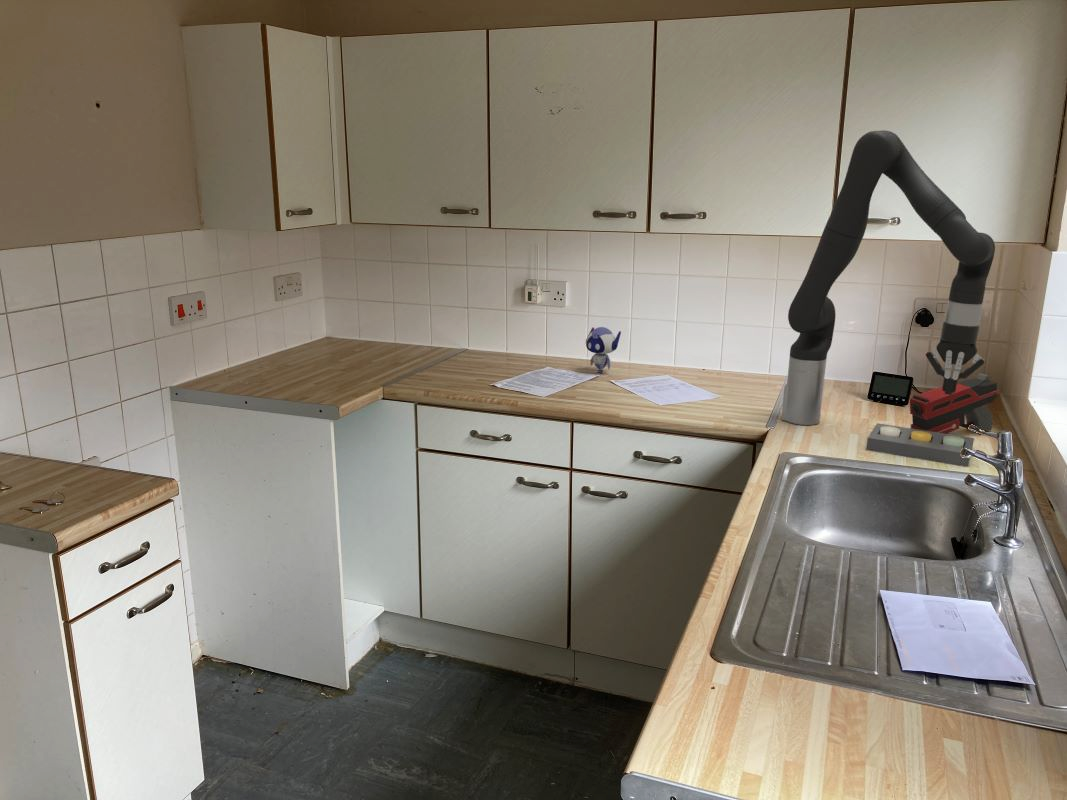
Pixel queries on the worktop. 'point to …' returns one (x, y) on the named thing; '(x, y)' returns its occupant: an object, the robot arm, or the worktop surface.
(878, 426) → the panel
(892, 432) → the button ivory
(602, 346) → the toy
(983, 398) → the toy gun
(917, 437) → the button amber
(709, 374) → the worktop surface
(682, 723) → the worktop surface
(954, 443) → the button sage
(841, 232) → the robot arm
